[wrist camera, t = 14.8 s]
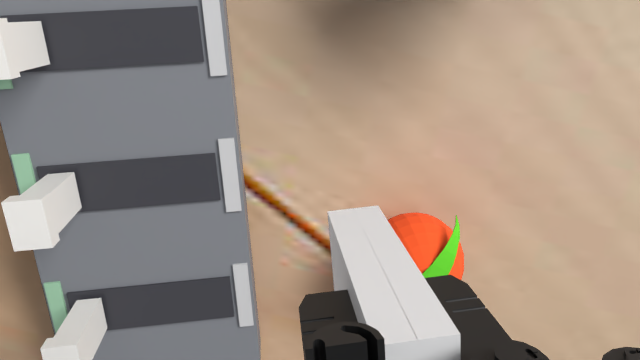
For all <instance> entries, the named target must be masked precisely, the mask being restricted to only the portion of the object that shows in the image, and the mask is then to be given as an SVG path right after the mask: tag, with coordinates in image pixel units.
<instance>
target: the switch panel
mask: <svg viewBox="0 0 640 360" xmlns="http://www.w3.org/2000/svg"><path fill="white" fill-rule="evenodd" d="M0 18H7V21H8V22H30V21H41V24H42V28H43V33H44V38H45V42H46V47H47V52H48V56H49V61H50V64H49V65H45V66H41V67H37V68H33V69H29V70H25V71H21V72H20V76H21V77H18V78H14V79H6V80H0V122H1V126H2V130H3V134H4V138H5V141H6V145H7V149H8V153H9V157H10V161H11V165H12V169H13V173H14V177H15V181H16V185H17V189H18V193H19V195H21V194H22V193H23V192H25V191H26V190H27V189H29V188H30V187H31V186H33V185H34V184H35V183H36V182H38V181H39V180H40V179H42V178H43V177H44V176H46V175H47V174H54V173H67V172H74V174H75V178H76V183H77V188H78V192H79V197H80V202H81V206H82V208H81V209H80V210H79V211H78V212H77V214H76V215H75V216H74V217H73V218H72V219H71V220H70V221H69V222H68V224H67V225H66V226H65V227H64V228H63V229H62V230H61V231H60V232H59V238H60V240H59V242H58V243H57V244H56V245H55V246H54V247H53V248H46V249H36V250H33V252H34V256H35V260H36V263H37V267H38V271H39V275H40V279H41V283H42V287H43V291H44V295H45V299H46V303H47V307H48V311H49V315H50V319H51V322H52V326H53V330H54V334H56V332H57V331H58V329H59V328H60V326H61V324H62V323H63V321H64V320H65V318H66V316H67V315H68V313H69V312H70V310H71V309H72V307H73V305H74V304H75V302H76V301H77V300H84V299H94V298H101V300H102V304H103V309H104V314H105V318H106V323H107V330H106V332H105V334H104V336H103V338H102V341H101V343H100V345H99V347H98V349H97V351H96V353H95V355H94V357H93V359H92V360H260V331H259V321H258V312H257V302H256V292H255V282H254V273H253V263H252V253H251V243H250V233H249V224H248V214H247V204H246V194H245V184H244V175H243V165H242V155H241V145H240V136H239V126H238V116H237V106H236V96H235V87H234V77H233V67H232V57H231V48H230V38H229V28H228V18H227V8H226V0H0Z"/></svg>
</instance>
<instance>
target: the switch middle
mask: <svg viewBox="0 0 640 360" xmlns="http://www.w3.org/2000/svg"><path fill="white" fill-rule="evenodd" d="M1 204H2V208H3V212H4V216H5V219H6V223H7V227H8V231H9V234H10V238H11V242H12V246H13V249H14V251H25V250H36V249H46V248H53V247H54V246H55V245H56V244H57V243H58V242H59V240H60V238H59V232H60V231H61V230H62V229H63V228H64V227H65V226H66V225H67V224H68V222H69V221H70V220H71V219H72V218H73V217H74V216H75V215H76V214H77V212H78V211H79V210H80V209H81V208H82V206H81V202H80V197H79V192H78V188H77V183H76V178H75V174H74V172H67V173H54V174H47V175H46V176H44V177H43V178H42V179H40V180H39V181H38V182H36V183H35V184H34V185H33V186H31V187H30V188H29V189H27V190H26V191H25V192H23V193H22V194H21V195H17V196H9V197H8V198H7V199H5V200H4V201H3V202H1Z"/></svg>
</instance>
